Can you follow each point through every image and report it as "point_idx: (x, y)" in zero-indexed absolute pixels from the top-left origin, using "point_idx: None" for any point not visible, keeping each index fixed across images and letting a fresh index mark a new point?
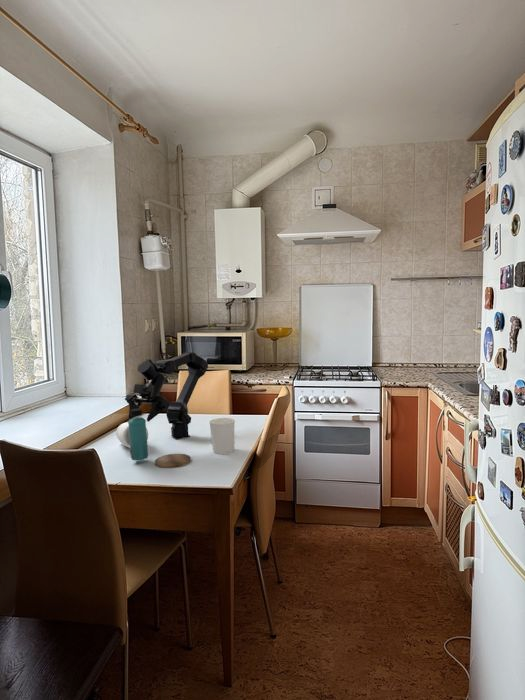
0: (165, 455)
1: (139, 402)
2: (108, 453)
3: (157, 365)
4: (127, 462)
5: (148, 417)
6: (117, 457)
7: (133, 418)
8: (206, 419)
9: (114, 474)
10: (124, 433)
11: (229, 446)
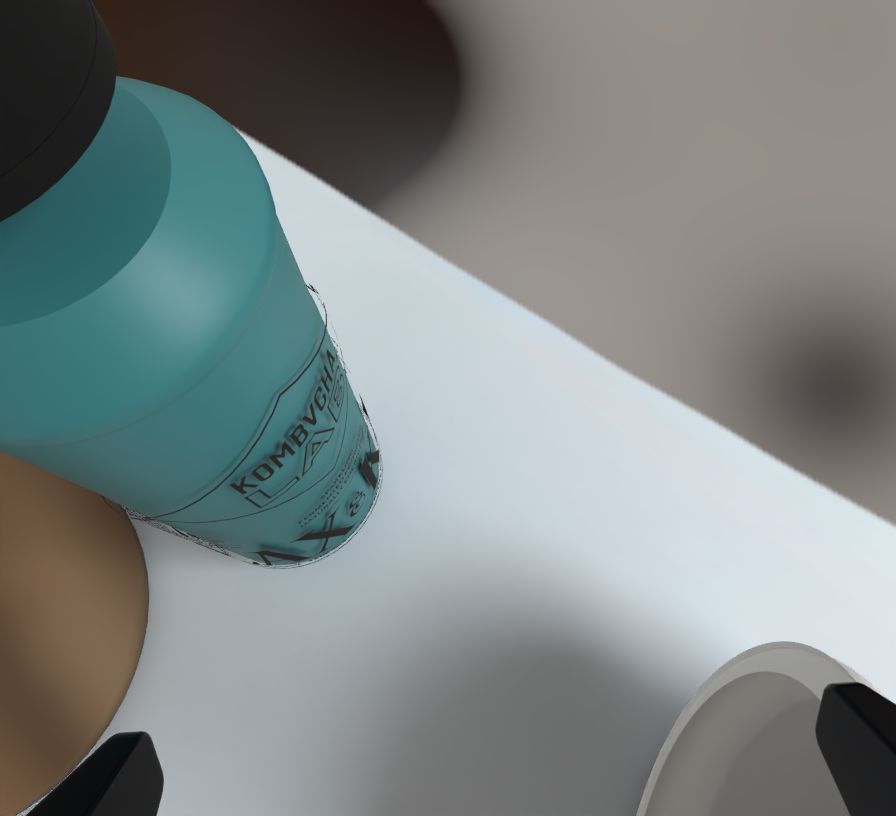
0: (91, 699)
1: None
2: (839, 545)
3: None
4: (409, 424)
5: (50, 807)
6: (627, 489)
7: (112, 161)
8: None
9: (295, 195)
10: (831, 679)
11: None
